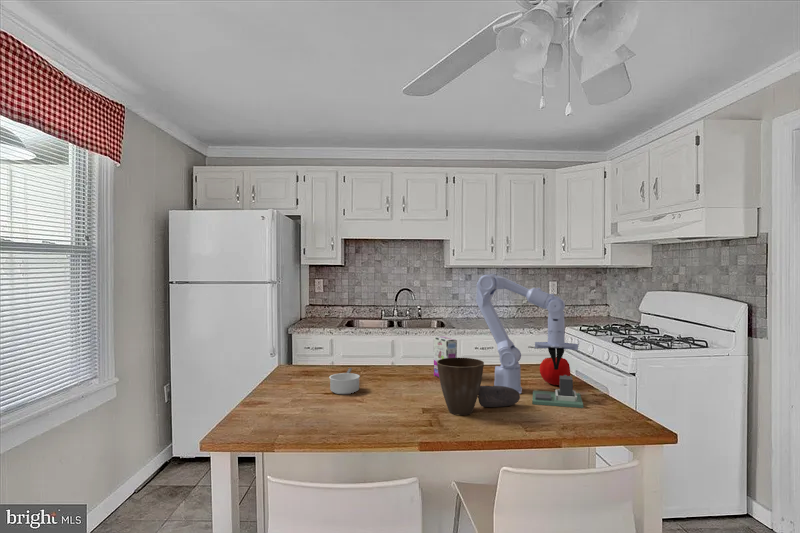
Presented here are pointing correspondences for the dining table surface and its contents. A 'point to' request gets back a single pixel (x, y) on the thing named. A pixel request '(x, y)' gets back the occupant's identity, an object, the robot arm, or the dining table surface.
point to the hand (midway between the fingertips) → (556, 369)
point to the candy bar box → (443, 350)
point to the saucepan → (344, 382)
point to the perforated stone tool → (497, 396)
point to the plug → (566, 385)
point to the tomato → (550, 373)
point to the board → (557, 399)
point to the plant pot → (460, 383)
